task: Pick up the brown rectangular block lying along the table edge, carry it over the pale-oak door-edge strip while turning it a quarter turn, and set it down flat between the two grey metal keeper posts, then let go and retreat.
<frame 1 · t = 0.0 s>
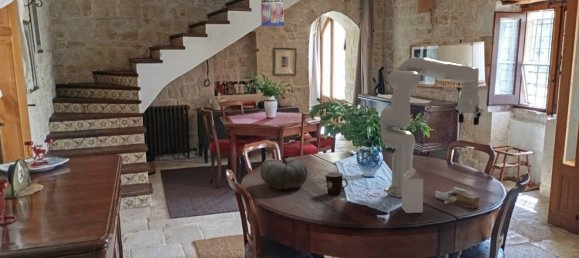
hand: (468, 123, 230), 31 cm above the table, fingers open, 9 cm apart
gourd: (284, 186, 232), on the table
keeper: (451, 197, 209), on the table
milk carton: (411, 210, 192), on the table
door edge strip: (458, 200, 204), on the table
brown rectangular block: (467, 205, 197), on the table
coffee mug: (335, 194, 216), on the table
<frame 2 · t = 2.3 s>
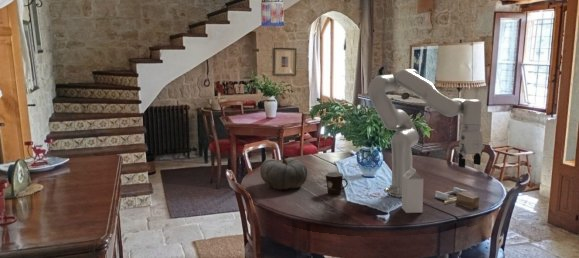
hand: (469, 165, 194), 18 cm above the table, fingers open, 9 cm apart
nothing on the table moved.
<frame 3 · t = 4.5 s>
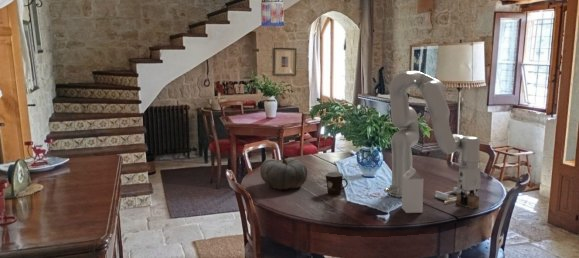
hand: (467, 203, 197), 1 cm above the table, fingers closed on brown rectangular block, 4 cm apart
brown rectangular block: (467, 205, 197), on the table, touching gripper
everything else where it was.
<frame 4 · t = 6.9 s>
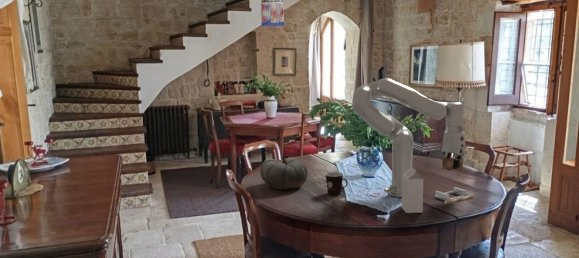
hand: (452, 166, 207), 15 cm above the table, fingers closed on brown rectangular block, 4 cm apart
brown rectangular block: (452, 168, 207), point 14 cm above the table, touching gripper
everything else where it was.
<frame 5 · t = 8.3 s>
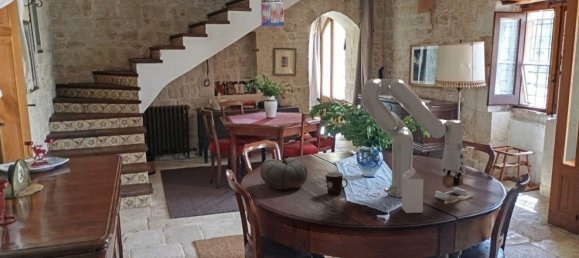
hand: (452, 183, 208), 7 cm above the table, fingers closed on brown rectangular block, 4 cm apart
brown rectangular block: (452, 185, 208), point 6 cm above the table, touching gripper
everything else where it was.
when the fingers open (2 cm above the table, at t = 9.4 s): brown rectangular block drops 2 cm, resting in keeper.
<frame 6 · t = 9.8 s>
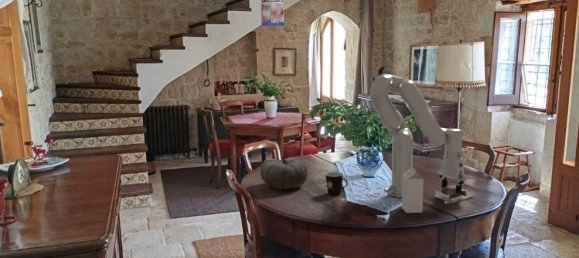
hand: (451, 190, 209), 3 cm above the table, fingers open, 8 cm apart
brown rectangular block: (451, 197, 209), resting in keeper
everything else where it was.
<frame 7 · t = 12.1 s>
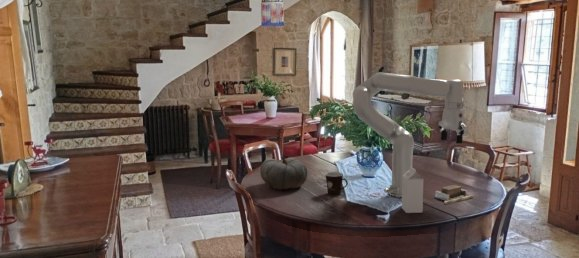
hand: (451, 141, 209), 26 cm above the table, fingers open, 9 cm apart
nothing on the table moved.
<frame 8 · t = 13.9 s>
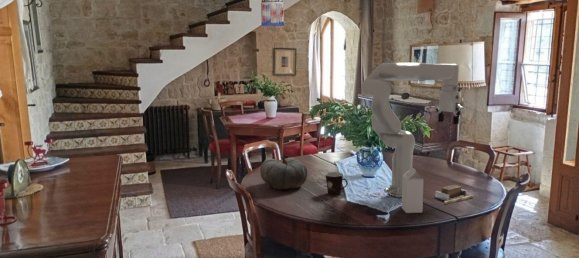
hand: (448, 122, 221), 33 cm above the table, fingers open, 9 cm apart
nothing on the table moved.
at the end: brown rectangular block 0.1 cm off-centre on the keeper, point 0.0 cm above the keeper's base; brown rectangular block tilted 0°; the gripper is holding nothing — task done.
